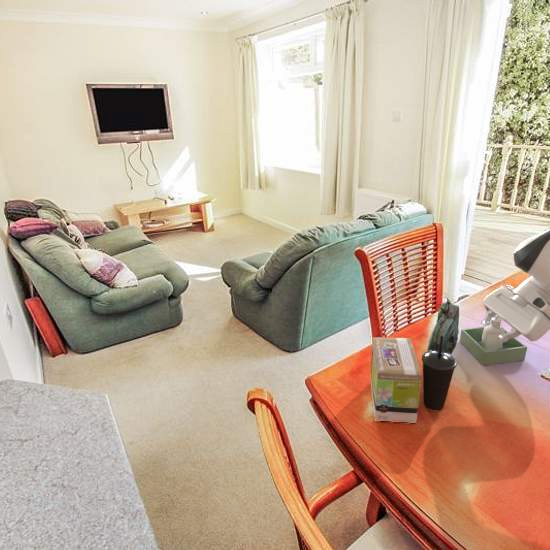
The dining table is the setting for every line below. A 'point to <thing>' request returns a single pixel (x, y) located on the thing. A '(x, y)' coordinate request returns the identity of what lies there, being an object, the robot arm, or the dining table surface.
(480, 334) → the crate
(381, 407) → the tea box
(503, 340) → the robot arm
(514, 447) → the dining table surface
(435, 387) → the drinking cup
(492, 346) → the eye dropper bottle
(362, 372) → the dining table surface
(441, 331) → the dark green backpack
